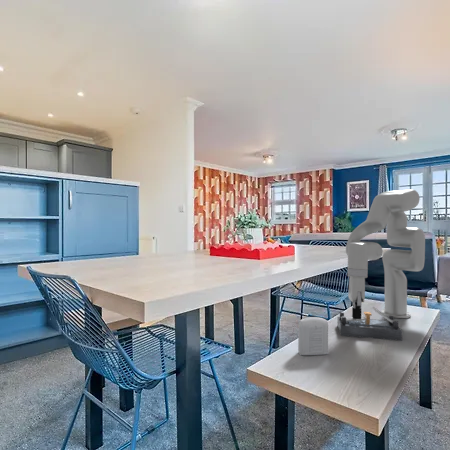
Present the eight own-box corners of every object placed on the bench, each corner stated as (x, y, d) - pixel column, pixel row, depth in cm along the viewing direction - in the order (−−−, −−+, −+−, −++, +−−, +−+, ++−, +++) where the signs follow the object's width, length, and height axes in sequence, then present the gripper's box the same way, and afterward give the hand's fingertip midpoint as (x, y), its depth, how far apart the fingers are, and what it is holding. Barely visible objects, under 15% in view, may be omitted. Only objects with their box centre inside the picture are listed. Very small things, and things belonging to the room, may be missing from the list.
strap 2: (392, 322, 127) (393, 320, 127) (395, 326, 122) (397, 324, 122) (372, 308, 129) (374, 306, 129) (374, 311, 124) (376, 309, 124)
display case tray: (337, 325, 135) (337, 307, 135) (393, 330, 130) (393, 310, 130) (340, 335, 124) (340, 315, 124) (401, 340, 118) (402, 319, 118)
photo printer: (324, 350, 110) (324, 315, 110) (330, 355, 106) (330, 318, 106) (296, 351, 109) (296, 316, 108) (301, 356, 104) (301, 320, 104)
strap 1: (342, 322, 127) (341, 319, 127) (340, 318, 132) (340, 315, 132) (366, 321, 125) (365, 318, 125) (363, 317, 130) (363, 314, 130)
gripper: (345, 270, 135) (344, 312, 135) (350, 275, 121) (349, 322, 121) (363, 271, 134) (363, 314, 133) (371, 276, 119) (370, 324, 119)
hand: (356, 317), depth 127 cm, fingers closed
